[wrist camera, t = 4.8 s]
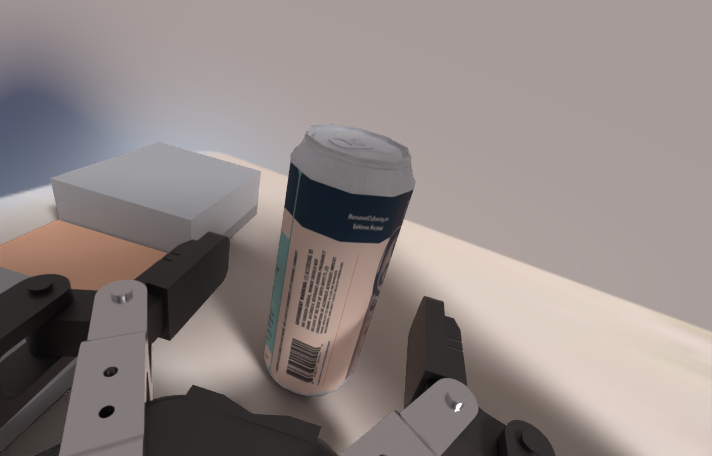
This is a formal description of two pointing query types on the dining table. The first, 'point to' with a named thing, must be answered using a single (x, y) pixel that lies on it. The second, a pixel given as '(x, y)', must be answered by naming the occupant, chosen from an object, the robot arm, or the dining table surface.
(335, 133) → the beer can
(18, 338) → the robot arm
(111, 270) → the grey peach bar
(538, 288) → the dining table surface
